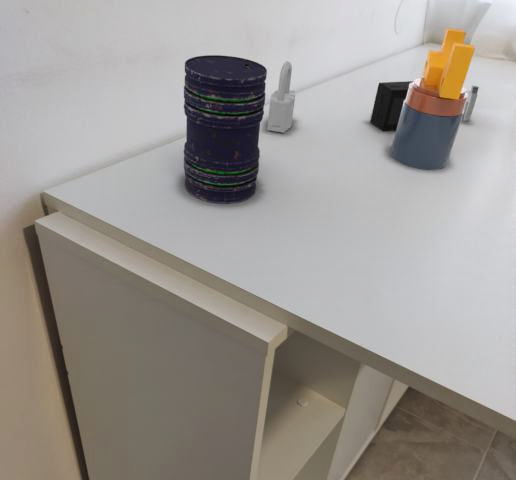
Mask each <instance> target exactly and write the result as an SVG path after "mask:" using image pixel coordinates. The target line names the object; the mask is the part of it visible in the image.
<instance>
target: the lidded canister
mask: <svg viewBox="0 0 516 480" xmlns="http://www.w3.org/2000/svg"><path fill="white" fill-rule="evenodd" d="M412 81H413V82H412V83H410V84H409V87H408V91H407V95H406V99H405V100H404V101H403V105H402V109H401V113H400V117H399V120H398V124H397V128H396V130H395V133H394V136H393V140H392V143H391V148H390V151H389V152H390V153H389V154H390V157H392V158H393V159H394V160H395V161H396V162H398V163H399V164H402V165H405V166H407V167H410V168H415V169H420V170H440V169H443V168H445V167H446V166H447V164H448V163H449V159H450V156H451V153H452V150H453V147H454V144H455V142H456V141H455V140H456V138H457V135H458V132H459V128H460V126H461V123H462V121H463V120H462V117H463V114H464V111H463V110H464V107H465V104H466V101H467V98H468V94H467V93H466V90H467V88H466V87H464V86H463V87H462V90H461V93H460V96H459V99H458V100H457V99H450V98H443V97H440V95H439V92H438V88H437V86H434V85H427V84H425V81H424V77H418V78H415V79H414V80H412Z"/></svg>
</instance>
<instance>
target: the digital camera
mask: <svg viewBox="0 0 516 480" xmlns="http://www.w3.org/2000/svg"><path fill="white" fill-rule="evenodd" d="M413 81H414V80H410V81H409V80H408V81H389V82H388V81H387V82H378V85H377V89H376V94H375V98H374V103H373V108H372V112H371V115H370V120H369V121H370V122H369V123H370V124H372V125H373V126H375V127H376V128H378V129H379V130H381V131H382V132H386V131H387V132H388V131H396V128H397V124H398V120H399V117H400V113H401V109H402V105H403V101H404V100H405V99H406V95H407V91H408V87H409V84H410V83H412V82H413Z"/></svg>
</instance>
